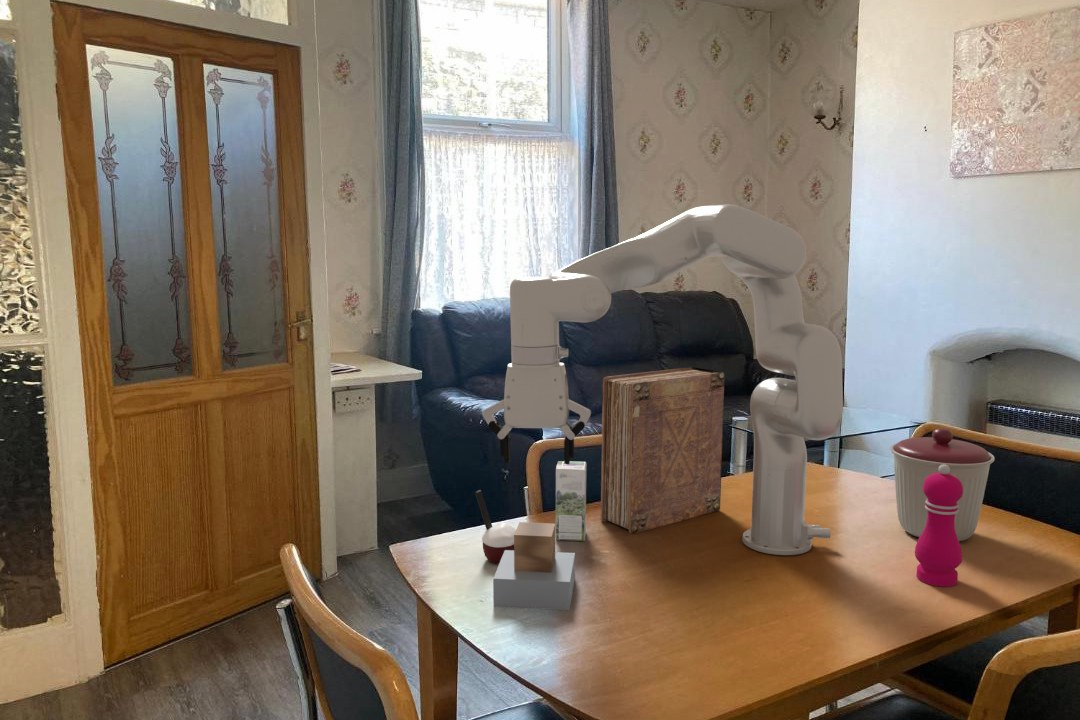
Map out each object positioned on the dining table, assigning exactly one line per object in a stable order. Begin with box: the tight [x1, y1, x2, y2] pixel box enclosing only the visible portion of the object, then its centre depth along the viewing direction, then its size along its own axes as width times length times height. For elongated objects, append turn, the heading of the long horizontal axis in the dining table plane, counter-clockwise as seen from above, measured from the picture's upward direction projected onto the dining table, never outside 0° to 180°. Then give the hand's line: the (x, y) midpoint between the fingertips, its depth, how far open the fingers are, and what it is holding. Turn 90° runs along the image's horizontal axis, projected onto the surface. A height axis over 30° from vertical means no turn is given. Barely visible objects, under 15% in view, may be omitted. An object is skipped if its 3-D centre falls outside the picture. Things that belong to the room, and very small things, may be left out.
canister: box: [889, 427, 996, 542], centre depth 158 cm, size 18×18×21 cm
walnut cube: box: [514, 521, 556, 573], centre depth 132 cm, size 6×6×6 cm
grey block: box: [492, 550, 576, 611], centre depth 133 cm, size 12×12×5 cm
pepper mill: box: [914, 464, 963, 588], centre depth 136 cm, size 7×7×20 cm
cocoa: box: [475, 489, 517, 565], centre depth 146 cm, size 10×6×12 cm, turn 36°
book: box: [600, 366, 725, 535], centre depth 168 cm, size 25×9×30 cm, turn 124°
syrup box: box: [555, 460, 588, 542], centre depth 157 cm, size 6×6×14 cm
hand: (537, 461), depth 130 cm, fingers open, 9 cm apart
